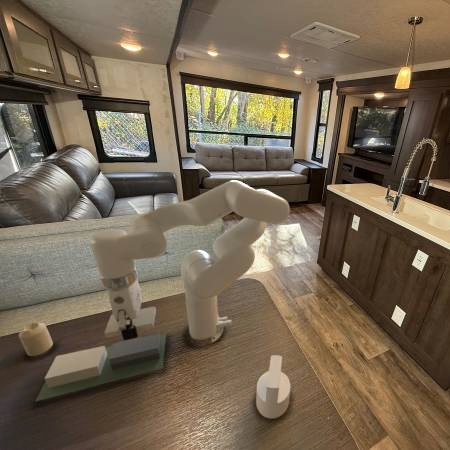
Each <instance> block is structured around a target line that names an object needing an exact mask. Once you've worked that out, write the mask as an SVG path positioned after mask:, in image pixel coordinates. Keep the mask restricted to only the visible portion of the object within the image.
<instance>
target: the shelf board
mask: <svg viewBox="0 0 450 450" xmlns="http://www.w3.org/2000/svg"><path fill="white" fill-rule="evenodd" d="M166 337H167V334H160V338H161V343H162V344H161V353H160V358H159V359H155V360H151V361H147V362H143V363H139V364H135V365H131V366H127V367H123V368H119V369H115V370H112V368H111V365H110V362H109V357H110V354H111V351H112V347H113V345H110V346H105V349H106V352H107V356H106V359H105V363H104V366H103V369H102V372H101V375H99V376H95V377H91V378H87V379H83V380H79V381H75V382H71V383H67V384H63V385H59V386H55V387H51V388H48V386H47V383H46V381H45V382H44V383H43V385H42V387H41V390H40V391H39V393H38V394H37V397H36V399H35V403H36V402H40V401H43V400H47V399H51V398H54V397H59V396H63V395H66V394H69V393H74V392H78V391H81V390H85V389H90V388H92V387H97V386H100V385H101V386H102V385H103V384H107V383H112V382H115V381H119V380H123V379H127V378H131V377H135V376H138V375H142V374H145V373H150V372H153V371H156V370H161V369H164V359H165V348H166Z"/></svg>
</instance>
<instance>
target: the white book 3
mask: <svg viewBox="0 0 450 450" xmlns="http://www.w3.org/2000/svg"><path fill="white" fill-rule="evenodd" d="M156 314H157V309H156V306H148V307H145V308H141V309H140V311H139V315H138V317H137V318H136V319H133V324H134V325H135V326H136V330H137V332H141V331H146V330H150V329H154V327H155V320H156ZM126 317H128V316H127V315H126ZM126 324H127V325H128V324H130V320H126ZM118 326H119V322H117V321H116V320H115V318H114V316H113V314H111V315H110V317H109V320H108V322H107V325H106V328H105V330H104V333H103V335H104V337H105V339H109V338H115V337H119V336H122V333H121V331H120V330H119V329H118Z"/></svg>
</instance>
